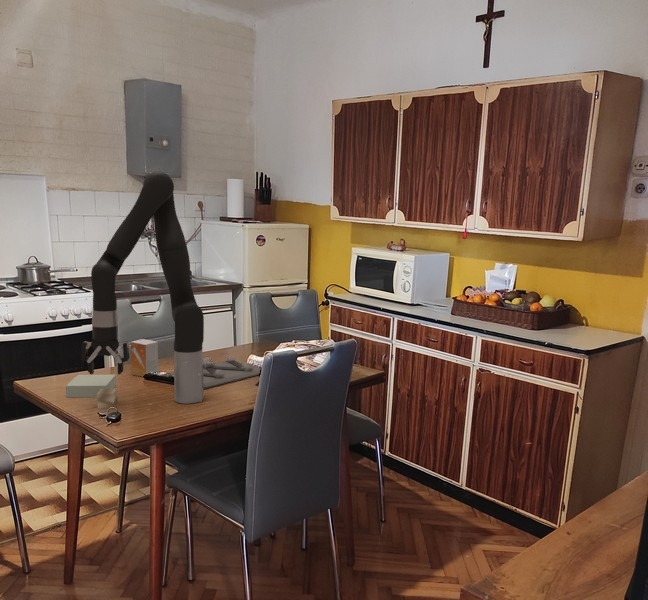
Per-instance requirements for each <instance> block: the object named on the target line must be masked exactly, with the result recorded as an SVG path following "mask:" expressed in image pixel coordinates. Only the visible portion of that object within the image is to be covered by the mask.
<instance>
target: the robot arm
mask: <svg viewBox="0 0 648 600" xmlns="http://www.w3.org/2000/svg"><path fill="white" fill-rule="evenodd" d="M174 184H175V183H174V181H173V179H172V177H171V176H170V175H169V174H167V173H165V172H164V171H159V170H158V171H153V172H150V173H148V175H146V176H145V178H144V180H143V183H142V188H141V190H140V193H139V195H138V197H137V199H136V201H135V203H134V205H133V206H132V208H131V210H130V211H129V212H128V214H127V215H126V217H125V218H124V220H122V222H121V223H120V225H119V226H118V227H117V229H116V231H115V232H114V234H113V235H112V237H111V238H110V240H109V241H108V244H107V245H106V246H107V247H106V249H105V250H104V251H103V253H102V255H101V256H100V258H99V259H98V260H97V262H96V263H95V264H94V265H93V266H92V268H91V273H90V274H91V275H90V276H91V279H90V280H91V288H92V316H91V317H92V318H91V325H92V326H91V327H92V331H91V332H92V335H91V336H92V339H91V340H92V341H87V340H85V341H83V342H82V343H81V349H80V350H81V351H80V353H81V355H80V360H81V361H82V362H86V363H87V372H88V373H89V375H94V373H95V362H94V359H95V358H96V357H97V356H99V357H103V356H107V357H110V356H112V358H114V359H115V360H116V361H117V375H118V376H119V375H121V374H122V373H123V372H124V363H125V362H128V360H130V348H129V347H130V346H129V342H128V341H124V342H119V330H118V329H119V327H118V325H119V324H118V323H119V319H118V318H119V316H118V312H117V311H118V309H117V306H118V305H117V304H118V301H117V300H118V299H117V294H116V277H117V276H118V274H119V272H120V270H121V269H122V266H123V264H124V263H125V261H126V259H127V258H128V257H129V256H130V254H132V251H134V248H135V246H137V244H138V242H139V241H140V239H141V237H142V235H143V233H144V232H145V230H146V227H147V226H148V224H149V223H150V221H151V220H152V218H153V225H154V227H153V228H154V235H155V243H156V249H157V253H158V258H159V262H160V266H161V269H162V272H163V276H164V278H165V281H166V284H167V288H168V290H169V297H170V298H169V299H170V304H171V305H170V306H171V316H172V320H173V322H174V342H173V372H174V378H173V379H174V380H173V381H174V383H173V384H174V385H173V386H174V391H173V392H174V402H176V403H178V404H185V405H186V404H189V405H190V404H196V403H202V402H203V398H204V389H203V367H202V359H203V343H204V339H205V338H204V337H205V336H204V334H205V330H204V329H205V328H204V325H205V323H204V322H205V321H204V320H205V318H204V312H203V310H202V308H201V307H200V306H199V305H198V304H197V300H196V298H195V294H194V292H193V291H194V290H193V287H192V282H191V262H190V261H191V260H190V254H189V250H188V246H187V241H186V237H185V235H184V231H183V230H182V226H181V223H180V221H179V219H178V218H179V217H178V215H177V212H176V211H177V210H176V206H175V196H174V191H175V185H174ZM90 347H91V348H92V349H93V350H94V351H93V352H92V353H91V355H90V356H88V350H89V349H90ZM119 347H120V349H121V350H123V351H122V352H123V357H122V355H121V353H120V351H119V350H118V349H119Z"/></svg>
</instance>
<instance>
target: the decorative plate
mask: <svg viewBox="0 0 648 600" xmlns="http://www.w3.org/2000/svg"><path fill="white" fill-rule="evenodd" d="M235 358H236V357H235V356H233V355H231V354H230V356H227V357H226V358H225V360H223V361H220V362H219V361H218V362H214V361H215V359H214V360H213V358H211V356H209V357H205V356H202V367H203V390H207V389H211V388H215V387H218V386H223V385H227V384H230V383H234V382H237V381H241V380H245V379H250V378H254V377H256V376H259V373H260V367H257V366H254V365H253V364H252V363H250V361H247V362H240V361H237V360H236V359H235ZM171 374H172V375H174V371H172V372H171Z"/></svg>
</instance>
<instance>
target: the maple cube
mask: <svg viewBox="0 0 648 600" xmlns="http://www.w3.org/2000/svg"><path fill="white" fill-rule="evenodd" d="M96 399H97V400H96V401H97V402H96V403H97V404H96V405H97V409H111V408H110V407H114V408H115V407H116V406H117V404H118V403H119V401H118V399H119V397H118V388H117V387H114V389H101V390H100V391H99V392H98V393H97V397H96Z"/></svg>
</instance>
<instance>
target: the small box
mask: <svg viewBox="0 0 648 600" xmlns="http://www.w3.org/2000/svg"><path fill="white" fill-rule="evenodd" d="M130 363H131V364H130V365H131V367H130V370H131V372H130V373H131V375H133V376H136V377H137V376H138V377H140V376H141V378H144V377H143V376H144V375H145V374H148V373H151V372H158V373H159V342H158V341H155V340H150V339H144V338H141V339H137V340H133V341H130Z"/></svg>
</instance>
